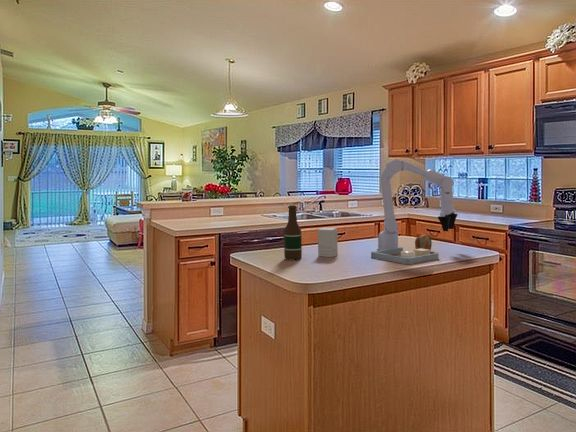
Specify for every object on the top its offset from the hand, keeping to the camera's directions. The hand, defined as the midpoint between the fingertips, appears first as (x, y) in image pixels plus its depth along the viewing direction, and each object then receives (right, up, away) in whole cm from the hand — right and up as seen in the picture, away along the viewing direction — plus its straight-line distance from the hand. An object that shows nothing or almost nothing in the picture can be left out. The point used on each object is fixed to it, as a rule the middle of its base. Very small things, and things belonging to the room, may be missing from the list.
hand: (448, 230), depth 223 cm
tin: (-13, -11, -3) cm, 17 cm away
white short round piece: (-25, -13, -22) cm, 35 cm away
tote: (-25, -12, -15) cm, 32 cm away
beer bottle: (-74, -13, -13) cm, 76 cm away
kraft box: (-18, -12, -16) cm, 27 cm away
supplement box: (-58, -12, -6) cm, 60 cm away
